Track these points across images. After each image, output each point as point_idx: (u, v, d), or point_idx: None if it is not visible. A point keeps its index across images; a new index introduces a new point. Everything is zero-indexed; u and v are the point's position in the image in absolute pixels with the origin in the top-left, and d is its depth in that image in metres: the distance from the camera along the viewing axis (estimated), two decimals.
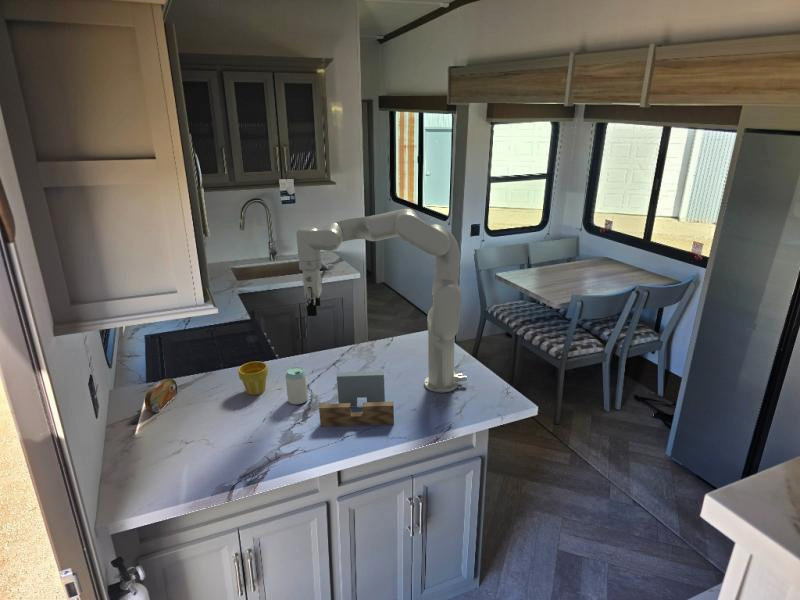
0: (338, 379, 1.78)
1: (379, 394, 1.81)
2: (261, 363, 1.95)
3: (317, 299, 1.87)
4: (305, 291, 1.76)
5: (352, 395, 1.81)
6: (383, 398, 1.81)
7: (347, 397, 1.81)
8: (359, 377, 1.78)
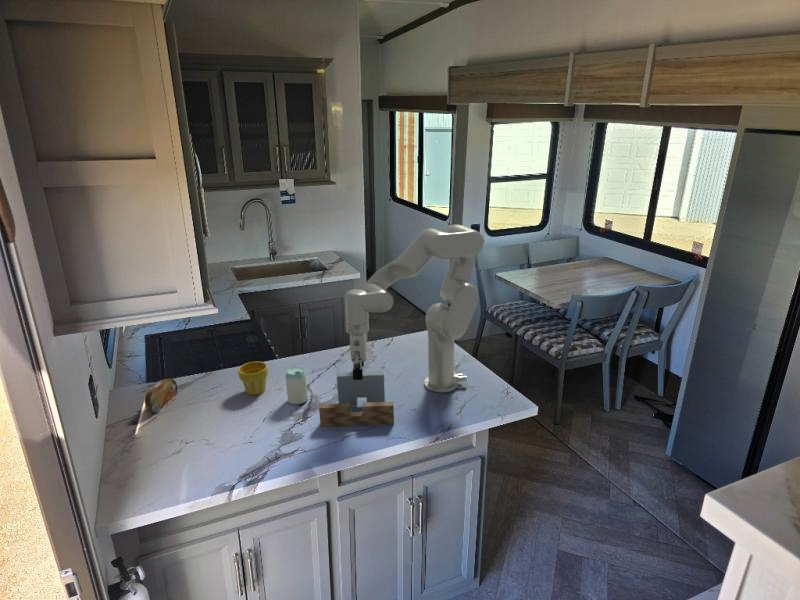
0: (338, 379, 1.78)
1: (379, 394, 1.81)
2: (261, 363, 1.95)
3: None
4: (352, 355, 1.72)
5: (352, 395, 1.81)
6: (383, 398, 1.81)
7: (347, 397, 1.81)
8: None
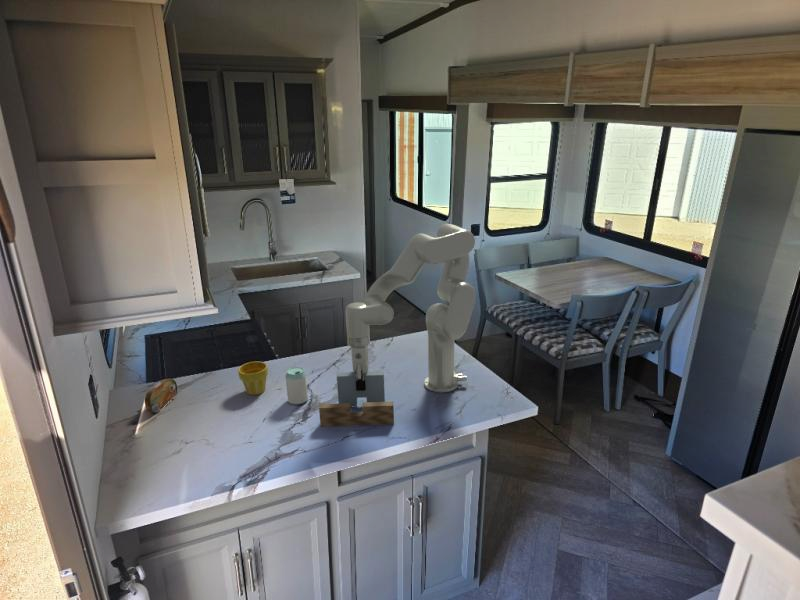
0: (338, 379, 1.78)
1: (379, 394, 1.81)
2: (261, 363, 1.95)
3: None
4: (354, 368, 1.73)
5: (352, 395, 1.81)
6: (383, 398, 1.81)
7: (347, 397, 1.81)
8: None
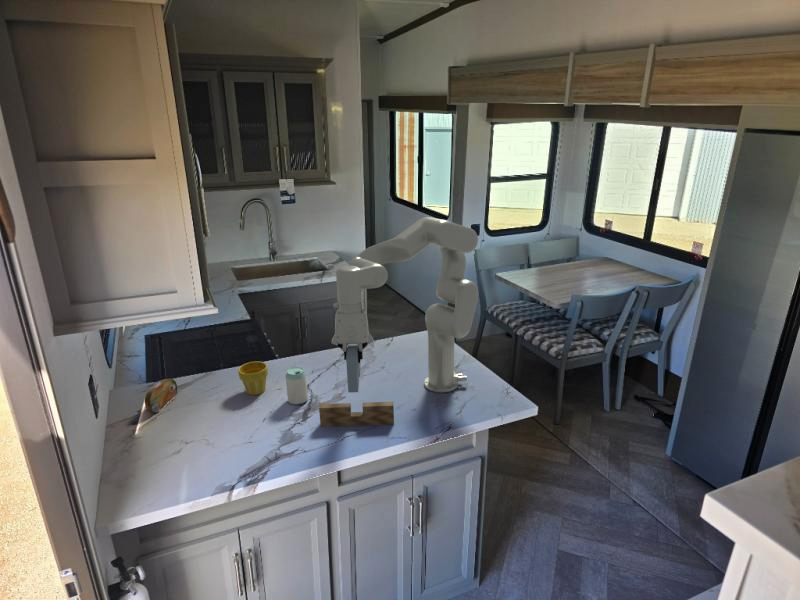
0: None
1: None
2: (261, 363, 1.95)
3: None
4: None
5: None
6: None
7: None
8: (348, 346, 1.63)
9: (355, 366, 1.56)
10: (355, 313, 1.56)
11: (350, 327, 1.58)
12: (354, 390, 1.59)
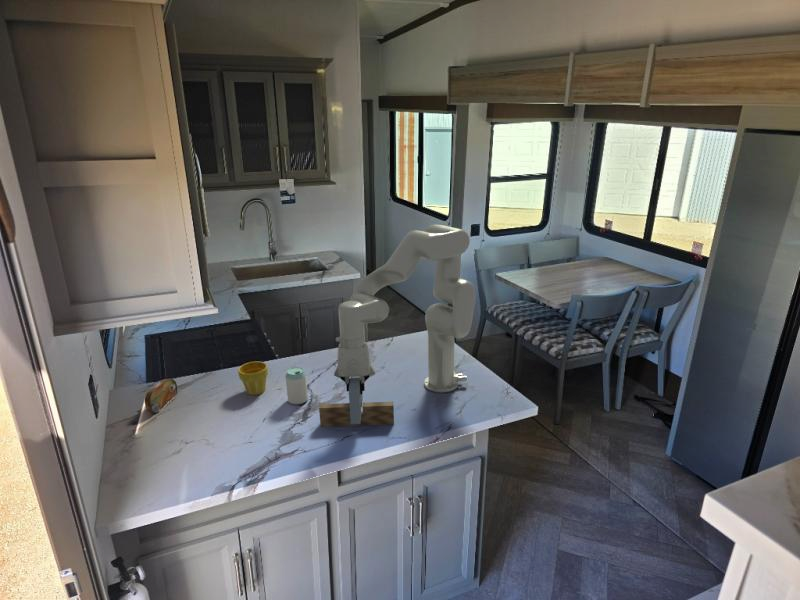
0: None
1: None
2: (261, 363, 1.95)
3: None
4: None
5: None
6: (350, 415, 1.63)
7: None
8: (350, 378, 1.67)
9: (357, 399, 1.60)
10: (357, 347, 1.59)
11: (352, 361, 1.61)
12: (356, 422, 1.63)
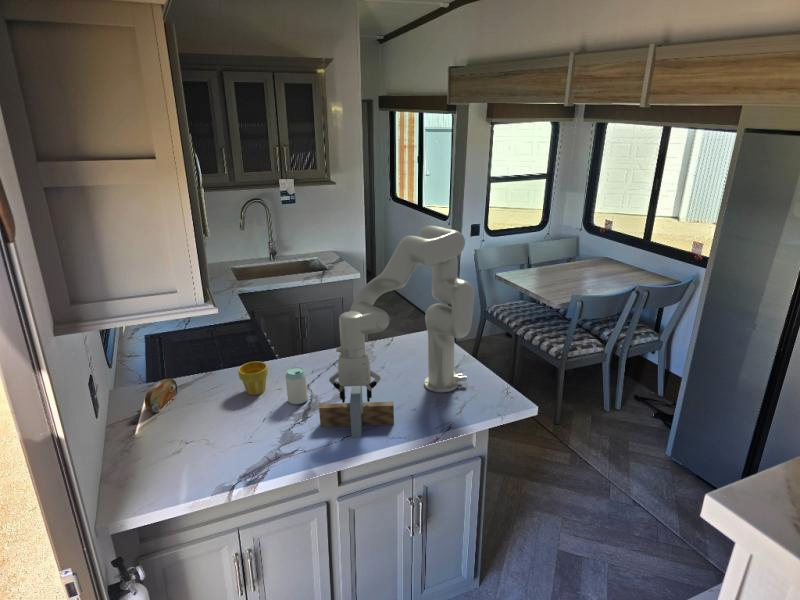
0: None
1: None
2: (261, 363, 1.95)
3: (367, 394, 1.68)
4: None
5: None
6: (351, 429, 1.64)
7: None
8: (351, 392, 1.69)
9: (358, 413, 1.62)
10: (358, 357, 1.60)
11: (353, 370, 1.63)
12: (357, 435, 1.65)
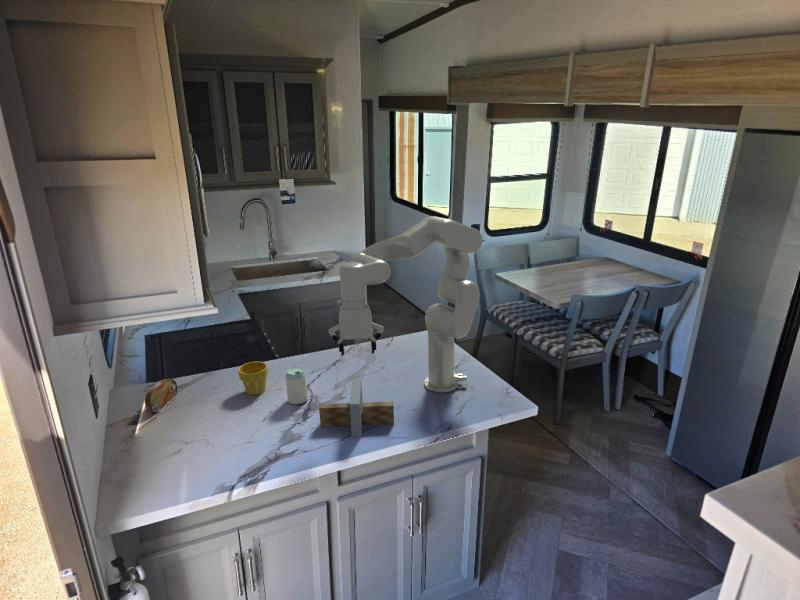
0: None
1: None
2: (261, 363, 1.95)
3: (371, 345, 1.65)
4: None
5: None
6: (351, 429, 1.64)
7: None
8: (351, 392, 1.69)
9: (358, 413, 1.62)
10: (359, 309, 1.58)
11: (354, 323, 1.60)
12: (357, 435, 1.65)
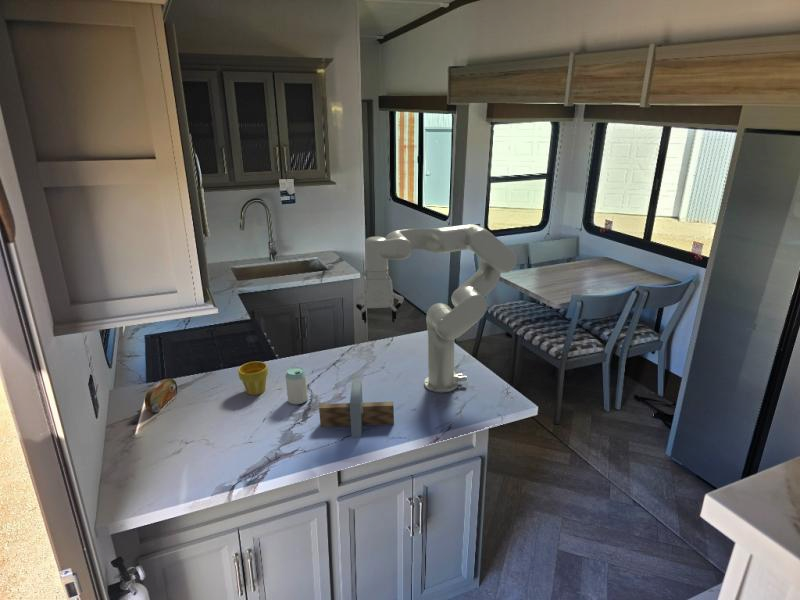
0: None
1: None
2: (261, 363, 1.95)
3: (392, 314, 1.79)
4: None
5: None
6: (351, 429, 1.64)
7: None
8: (351, 392, 1.69)
9: (358, 413, 1.62)
10: (382, 279, 1.72)
11: (377, 292, 1.74)
12: (357, 435, 1.65)
